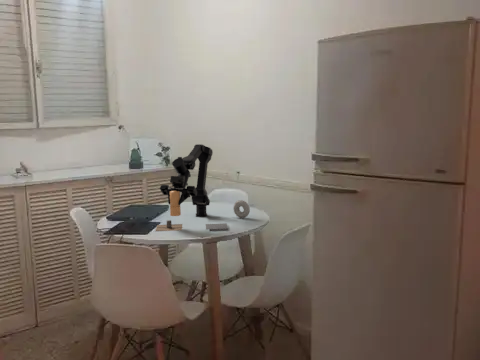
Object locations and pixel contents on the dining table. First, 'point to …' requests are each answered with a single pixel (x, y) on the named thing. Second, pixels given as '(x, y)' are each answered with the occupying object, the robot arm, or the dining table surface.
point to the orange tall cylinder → (175, 203)
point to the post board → (164, 227)
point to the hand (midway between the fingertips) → (173, 204)
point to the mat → (217, 227)
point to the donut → (245, 207)
